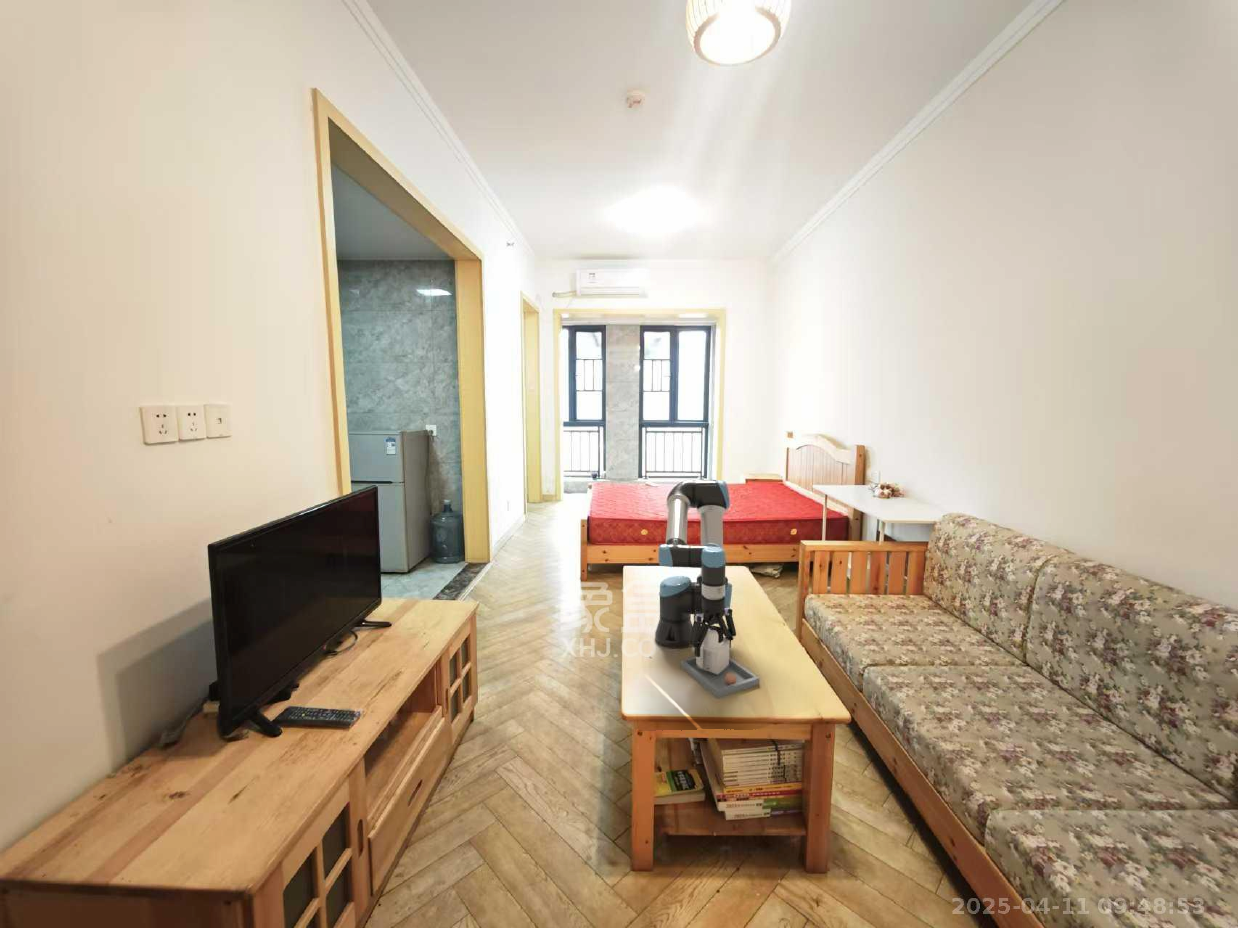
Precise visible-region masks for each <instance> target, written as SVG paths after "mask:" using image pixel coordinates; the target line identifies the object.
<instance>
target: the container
mask: <svg viewBox="0 0 1238 928" xmlns="http://www.w3.org/2000/svg"><path fill="white" fill-rule="evenodd" d="M723 637H724V631H723V630H722V628H720V626H719V625H718V626H717V625H711V627H710V629H708V632H707V634H706V636H705V638H704V641H703V643H702V645H701V646H702V647H703V667H700V666H699V665H697V667H698V668H701V669H704V670H706V671H709V672H712V673H714V674H717V675H718V674H719V673H720V672H722V671H723V670H724V669H725V668H726V667H727V666H728V665H729V657H730V649H729V643H727V642H724V641H723Z"/></svg>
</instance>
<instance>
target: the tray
mask: <svg viewBox="0 0 1238 928" xmlns="http://www.w3.org/2000/svg"><path fill="white" fill-rule="evenodd" d="M680 667H681V669H683V670H684V671H685V672H687V674H689V676H691V677H693V679H695V681H696V682H698V683H699V684H700V685H702V686H703V688H705V689H706V690H708V691H709V692H710V693H711V694H712V695H713V696H715V698H716V699H720V698H724V697H727V696H729V695H732V694H734V693H737V692H740V691H743V690H746V689H751V688H753V687H756V686H758V685H760V677H759V676H757V675H756V674H755V673H753V672H752V671H750V670H749V669H747V668H746V667H745V666H743V665H742V664H741V663H739V662H737V661H736V660H735V659H733V658H732V657H730V656H729V665H728V666H727V667H726V668H725V669H724V670H723V671H722V672H720V673H719V674H718V675H717V674H714V673H712V672H709V671H706V670H704V669H701V668H698V667H697V664H696V656H692V657H689V658H685V659H683V660H680ZM728 673H733V674H734V675H735V676H736V683H734V684H731V685H728V684H727V683H726V681H725V676H726V674H728Z"/></svg>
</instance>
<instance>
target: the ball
mask: <svg viewBox="0 0 1238 928" xmlns="http://www.w3.org/2000/svg"><path fill="white" fill-rule="evenodd" d="M725 681H726V683H727V684H728V685H731V684H734V683H736V676H735V675H734V674H733V673H728V674H726V676H725Z"/></svg>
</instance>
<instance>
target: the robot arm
mask: <svg viewBox="0 0 1238 928" xmlns="http://www.w3.org/2000/svg"><path fill="white" fill-rule="evenodd" d="M730 503H731V501H730V493H729V488H728V485H727V483H726V481H724V480H719V479H687V480H683V481H680V482H679V483H677V484H676V485H675V486H674V487H673V488H672V489H671V490H670V492H669V493H668V496H667V497H666V507H667V510H668V511H667V521H666V522H667V523H666V531H665V532H666V533H665V543H664V544H660V545H659V546H658V564H659V565H660V566H661V567H665V568H666V567H668V568H691V569H692V568H694V569H695V568H696V569H698V568H699V569H700V574H699V575H698V576H697V577H696V582H695V581H692V579H691V578H690V577H688V576H684V575H675V576H670V577H667V578H664V579H663V580H662V581H661V582H660V584H659V593H658V596H659V620H658V622H657V623H658V624H657V626H656V630H655V632H654V633H655V635H654V636H655V637H654V640H655V641H656V642H657V643H658V644H659V645H661V646H663V647H666V648H669V649H683V648H689V647H693V648H694V657H696V664H697V665H699V666H700V667H703V647H702V646H701V645H702V643H703V641H704V638H705V636H706V634H707V632H708V629H710V627H711V626H715V625H716V624H717V625H718V627H720V628H722V630H723V631H724V634H723V641H724V642H727V643H729V650H730V649H731V647H732V641H734V637H736V636H737V630H736V626H735V623H734V618H733V609H731V602H732V595H733V584H732V583H731V582H729V578H728V577H727V576H726V563H727V559H726V558H727V557H726V551H725V549H724V534H723V533H724V528H723V527H724V526H723V522H724V520H723V516H724V515H725V514H726V513H727V510H728V509H730ZM690 509H696V513H697V514H698V515H699V516H700V545H692V544H691V545H690V544H688V545H687V543H688V542H687V541H688V516H689V515H688V513H689V510H690ZM691 615H693V621H692V617H691ZM724 617H725V620H724ZM725 621H726V622H725ZM692 622H693V623H692Z"/></svg>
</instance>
